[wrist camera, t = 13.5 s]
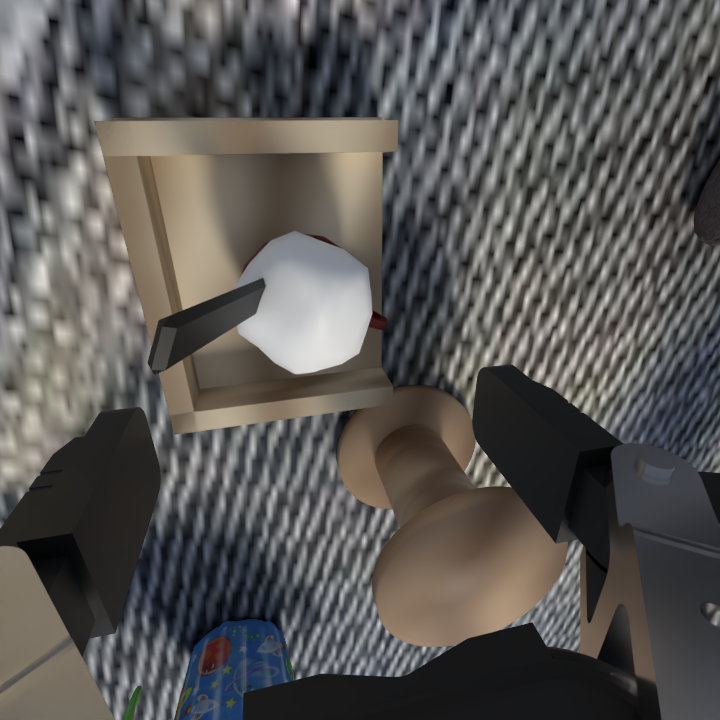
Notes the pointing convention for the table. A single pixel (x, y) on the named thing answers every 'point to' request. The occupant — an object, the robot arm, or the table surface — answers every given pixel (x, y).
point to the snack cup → (229, 670)
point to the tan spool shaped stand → (442, 523)
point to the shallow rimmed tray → (247, 245)
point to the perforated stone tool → (709, 210)
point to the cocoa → (282, 308)
